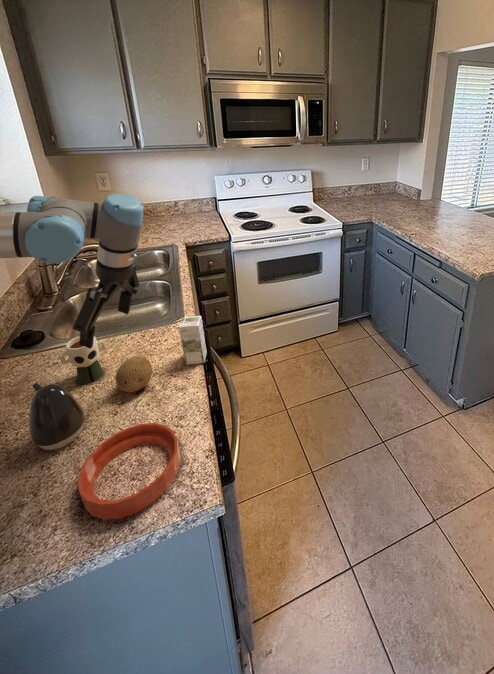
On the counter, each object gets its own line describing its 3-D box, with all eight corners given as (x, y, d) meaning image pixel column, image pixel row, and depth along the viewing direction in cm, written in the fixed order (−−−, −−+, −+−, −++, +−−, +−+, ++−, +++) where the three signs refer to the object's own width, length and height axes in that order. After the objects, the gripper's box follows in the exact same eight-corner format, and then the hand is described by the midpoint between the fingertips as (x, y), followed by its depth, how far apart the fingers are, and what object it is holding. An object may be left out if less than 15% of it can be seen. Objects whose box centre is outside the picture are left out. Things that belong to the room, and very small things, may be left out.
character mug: (70, 395, 98) (58, 355, 94) (67, 381, 103) (55, 343, 99) (115, 377, 104) (105, 339, 100) (110, 365, 110) (100, 328, 105)
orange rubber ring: (73, 538, 64) (66, 520, 63) (94, 455, 80) (89, 438, 79) (181, 500, 71) (177, 482, 69) (180, 429, 87) (177, 413, 85)
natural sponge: (148, 400, 96) (141, 370, 92) (113, 404, 95) (105, 373, 91) (159, 377, 104) (153, 348, 101) (127, 380, 103) (120, 351, 100)
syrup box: (207, 353, 114) (201, 314, 109) (204, 365, 109) (198, 324, 104) (189, 355, 113) (182, 316, 108) (185, 368, 108) (177, 326, 103)
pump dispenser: (72, 415, 91) (56, 366, 86) (97, 430, 87) (82, 379, 82) (26, 447, 83) (6, 395, 77) (52, 465, 78) (32, 411, 73)
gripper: (92, 295, 70) (83, 369, 79) (161, 243, 92) (148, 305, 101) (55, 281, 69) (50, 356, 78) (134, 232, 92) (123, 295, 101)
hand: (105, 327), depth 90 cm, fingers open, 13 cm apart
